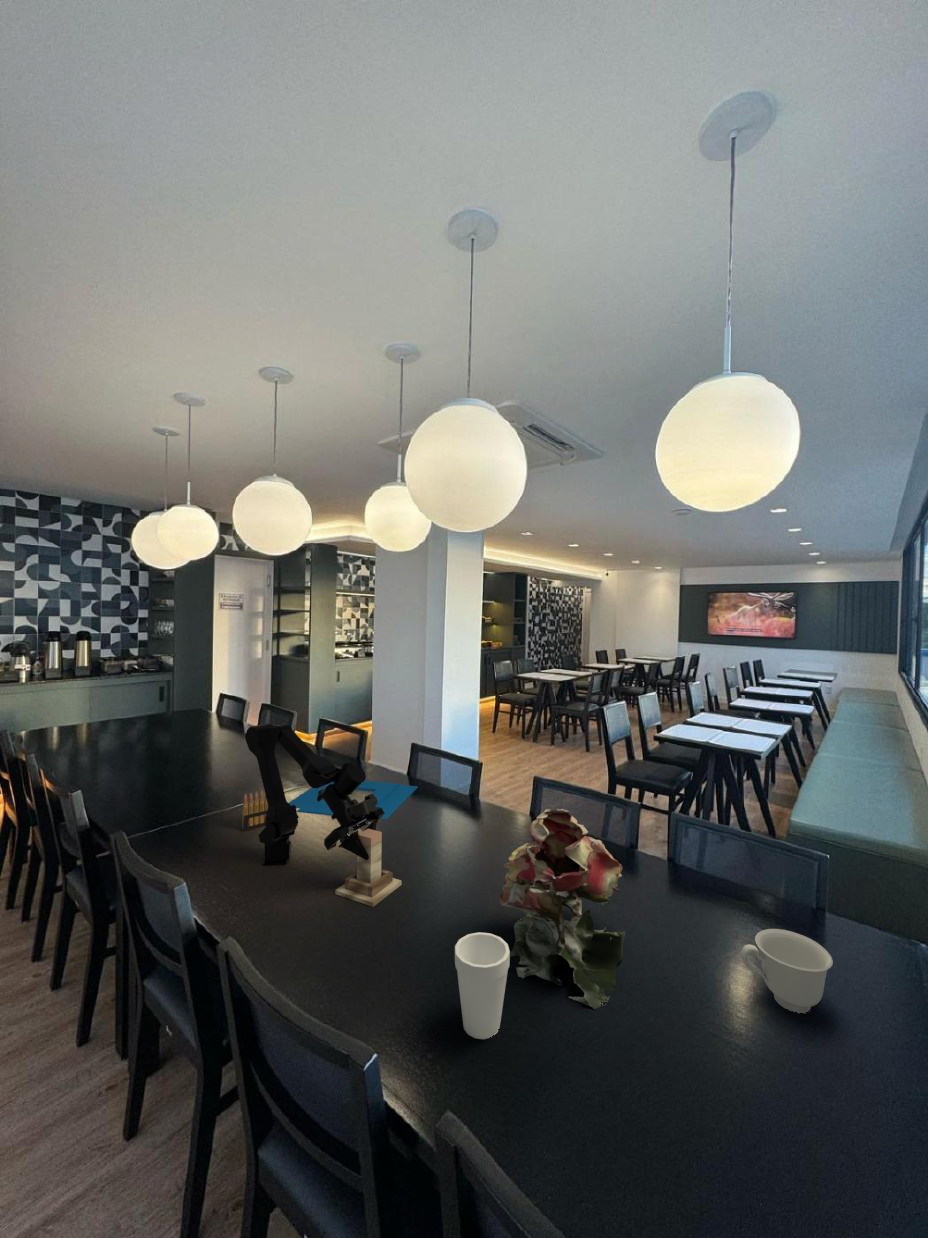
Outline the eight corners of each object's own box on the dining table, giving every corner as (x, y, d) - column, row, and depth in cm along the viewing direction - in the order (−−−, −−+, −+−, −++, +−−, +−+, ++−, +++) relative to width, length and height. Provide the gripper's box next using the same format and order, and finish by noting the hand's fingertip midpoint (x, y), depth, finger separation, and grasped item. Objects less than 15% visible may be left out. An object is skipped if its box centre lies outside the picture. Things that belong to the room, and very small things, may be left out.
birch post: (356, 881, 131) (357, 834, 131) (367, 874, 135) (368, 828, 135) (370, 886, 129) (371, 838, 129) (381, 878, 133) (381, 832, 133)
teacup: (728, 975, 101) (728, 925, 101) (808, 982, 100) (808, 930, 100) (756, 1023, 89) (757, 966, 89) (847, 1031, 88) (848, 973, 88)
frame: (417, 789, 212) (417, 784, 212) (384, 825, 177) (384, 819, 177) (326, 781, 222) (326, 776, 222) (277, 814, 186) (277, 808, 186)
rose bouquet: (628, 927, 117) (629, 796, 117) (611, 1018, 90) (613, 848, 90) (520, 902, 127) (521, 781, 127) (476, 976, 100) (478, 823, 100)
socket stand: (335, 894, 130) (335, 880, 130) (365, 873, 140) (365, 860, 140) (373, 907, 124) (373, 892, 124) (401, 884, 135) (401, 871, 135)
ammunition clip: (242, 831, 167) (243, 795, 167) (241, 830, 168) (241, 793, 168) (275, 823, 174) (276, 788, 174) (273, 821, 175) (274, 786, 175)
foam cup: (452, 1005, 93) (453, 933, 93) (503, 1002, 94) (504, 931, 94) (456, 1049, 83) (457, 969, 83) (512, 1045, 84) (513, 966, 84)
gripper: (333, 797, 126) (368, 852, 121) (379, 777, 142) (412, 825, 137) (309, 823, 129) (342, 878, 124) (357, 800, 146) (388, 848, 141)
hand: (373, 855), depth 132 cm, fingers closed on birch post, 4 cm apart
